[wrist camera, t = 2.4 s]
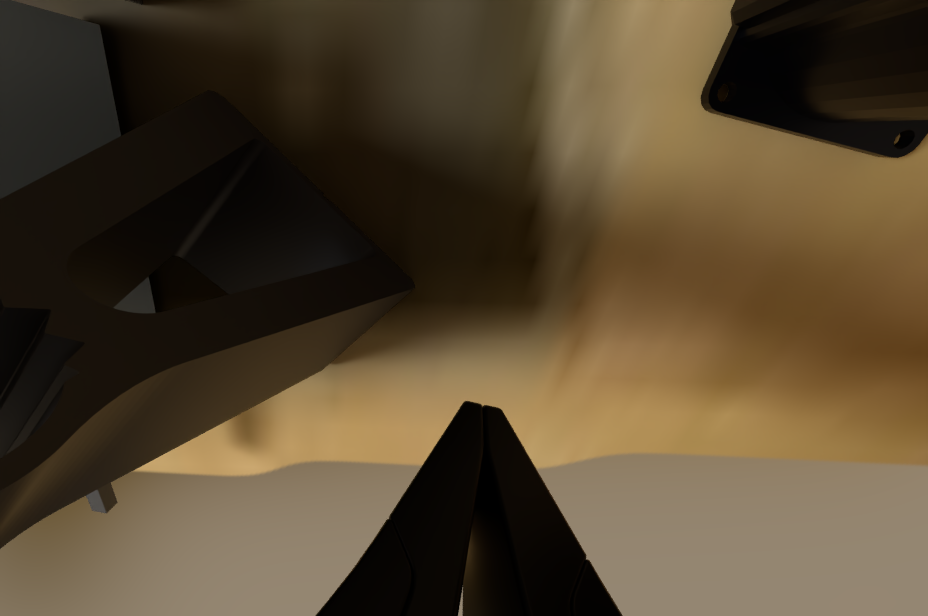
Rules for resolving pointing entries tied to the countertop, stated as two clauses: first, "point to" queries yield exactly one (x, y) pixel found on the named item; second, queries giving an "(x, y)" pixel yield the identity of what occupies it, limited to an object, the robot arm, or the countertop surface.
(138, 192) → the phone stand
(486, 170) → the countertop surface
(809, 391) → the countertop surface
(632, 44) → the countertop surface
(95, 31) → the paddle
